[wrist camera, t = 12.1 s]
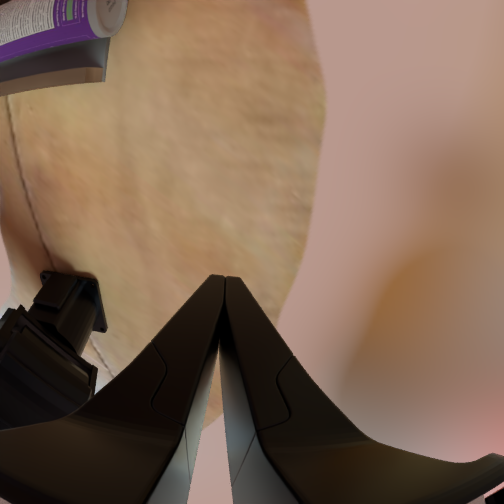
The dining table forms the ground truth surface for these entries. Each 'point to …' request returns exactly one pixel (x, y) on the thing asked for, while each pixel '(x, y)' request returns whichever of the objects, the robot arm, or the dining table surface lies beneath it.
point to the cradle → (55, 66)
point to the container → (56, 23)
